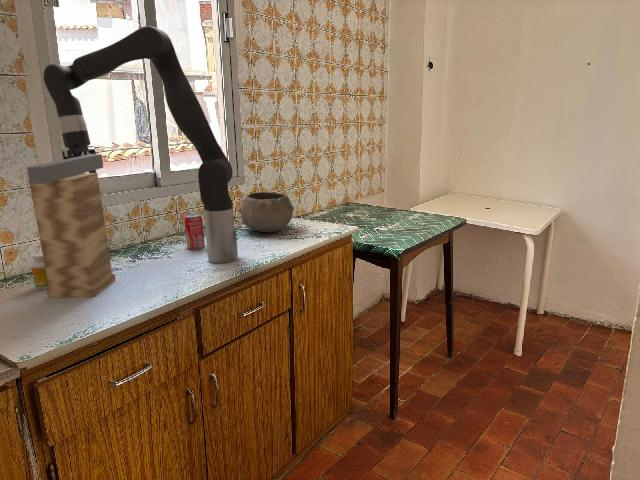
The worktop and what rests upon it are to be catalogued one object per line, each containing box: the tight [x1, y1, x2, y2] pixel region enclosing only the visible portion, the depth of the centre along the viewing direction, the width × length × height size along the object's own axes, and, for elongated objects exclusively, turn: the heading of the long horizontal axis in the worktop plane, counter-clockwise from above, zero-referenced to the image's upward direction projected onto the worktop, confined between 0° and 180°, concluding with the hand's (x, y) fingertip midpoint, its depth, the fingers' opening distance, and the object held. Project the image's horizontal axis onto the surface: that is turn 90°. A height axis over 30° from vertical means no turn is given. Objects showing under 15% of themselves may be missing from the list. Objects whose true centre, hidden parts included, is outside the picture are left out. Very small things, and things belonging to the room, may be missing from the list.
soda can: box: [183, 213, 206, 250], centre depth 175 cm, size 6×6×12 cm
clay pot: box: [238, 191, 295, 234], centre depth 194 cm, size 21×21×15 cm
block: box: [26, 153, 104, 185], centre depth 132 cm, size 4×30×4 cm, turn 178°
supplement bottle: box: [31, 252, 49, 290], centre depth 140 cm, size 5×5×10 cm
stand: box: [28, 172, 116, 298], centre depth 134 cm, size 13×13×32 cm
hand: (86, 182), depth 156 cm, fingers open, 8 cm apart
